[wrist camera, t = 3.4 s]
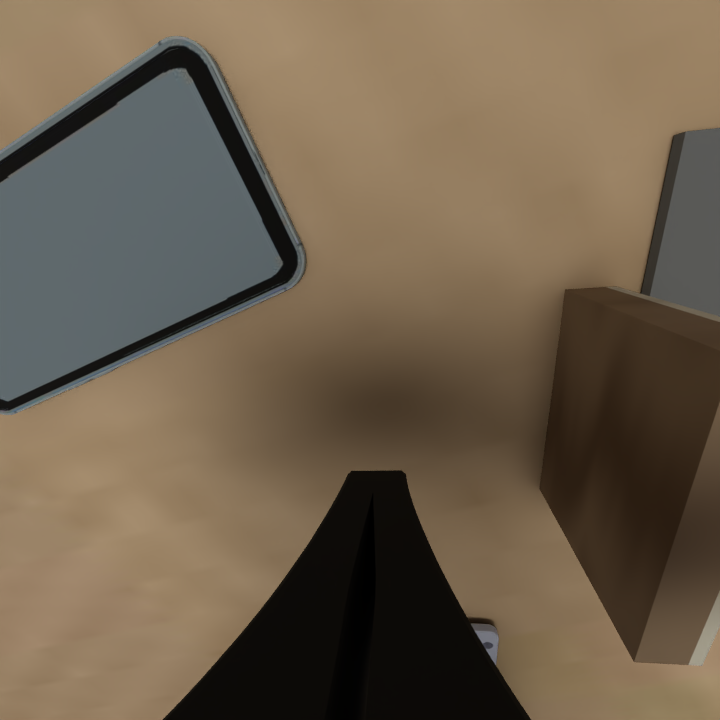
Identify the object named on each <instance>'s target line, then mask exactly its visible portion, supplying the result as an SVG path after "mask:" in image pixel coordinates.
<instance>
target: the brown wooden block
mask: <svg viewBox="0 0 720 720" xmlns="http://www.w3.org/2000/svg"><path fill="white" fill-rule="evenodd" d="M540 490H541V492H542V494H543V496H544V498H545V500H546V501H547V503H548V505H549V507H550V509H551V511H552V512H553V514H554V516H555V518H556V520H557V522H558V523H559V525H560V527H561V529H562V531H563V533H564V534H565V536H566V538H567V540H568V542H569V544H570V545H571V547H572V549H573V551H574V553H575V555H576V556H577V558H578V560H579V562H580V564H581V566H582V567H583V569H584V571H585V573H586V575H587V577H588V578H589V580H590V582H591V584H592V586H593V588H594V589H595V591H596V593H597V595H598V597H599V599H600V600H601V602H602V604H603V606H604V608H605V610H606V612H607V613H608V615H609V617H610V619H611V621H612V623H613V624H614V626H615V628H616V630H617V632H618V634H619V635H620V637H621V639H622V641H623V643H624V645H625V646H626V648H627V650H628V652H629V654H630V656H631V657H632V659H633V661H634V662H641V663H660V664H679V665H699V666H702V665H703V663H704V660H705V658H706V656H707V654H708V651H709V649H710V647H711V645H712V642H713V640H714V638H715V636H716V634H717V631H718V629H719V627H720V317H719V316H716V315H713V314H709V313H706V312H702V311H699V310H695V309H692V308H688V307H685V306H682V305H678V304H675V303H671V302H668V301H664V300H661V299H657V298H654V297H651V296H647V295H644V294H640V293H637V292H633V291H630V290H626V289H623V288H620V287H616V286H615V287H599V288H584V289H568V290H565V296H564V304H563V312H562V319H561V327H560V335H559V342H558V350H557V358H556V366H555V373H554V381H553V389H552V396H551V404H550V412H549V419H548V427H547V435H546V443H545V450H544V458H543V466H542V473H541V481H540Z"/></svg>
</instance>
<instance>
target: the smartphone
mask: <svg viewBox="0 0 720 720" xmlns="http://www.w3.org/2000/svg"><path fill="white" fill-rule="evenodd" d="M224 80H225V79H224V77H223V75H222V72H221V70H220V68H219V67H218V65H217V63H216V62H215V60H214V59H213V58H212V56H211V55H210V54H209V53H208V52H207V51H206V50H204V49H203V48H202V47H201V46H200V45H199V44H198V43H196V42H195V41H193V40H191V39H189V38H186V37H182V36H171V37H167V38H165V39H163V40H161V41H159V42H158V43H157V44H155V45H154V46H152V47H151V48H149V49H148V50H146V51H145V52H143V53H142V54H140V55H139V56H138V57H136V58H135V59H133V60H132V61H130V62H129V63H127V64H126V65H124V66H123V67H122V68H120V69H119V70H117V71H116V72H114V73H113V74H111V75H110V76H108V77H107V78H105V79H104V80H103V81H101V82H100V83H98V84H97V85H95V86H94V87H92V88H91V89H89V90H88V91H86V92H85V93H84V94H82V95H81V96H79V97H78V98H76V99H75V100H73V101H72V102H70V103H69V104H67V105H66V106H65V107H63V108H62V109H60V110H59V111H57V112H56V113H54V114H53V115H51V116H50V117H49V118H47V119H46V120H44V121H43V122H41V123H40V124H38V125H37V126H35V127H34V128H32V129H31V130H30V131H28V132H27V133H25V134H24V135H22V136H21V137H19V138H18V139H16V140H15V141H13V142H12V143H11V144H9V145H8V146H6V147H5V148H3V149H2V150H0V414H3V415H12V414H16V413H18V412H20V411H22V410H25V409H27V408H29V407H31V406H33V405H36V404H38V403H40V402H42V401H44V400H47V399H49V398H51V397H54V396H56V395H58V394H60V393H62V392H64V391H66V390H71V389H73V388H75V387H78V386H80V385H82V384H84V383H86V382H88V381H90V380H91V379H95V378H97V377H100V376H102V375H104V374H106V373H108V372H111V371H113V370H114V369H115V368H117V367H119V366H121V365H124V364H126V363H128V362H130V361H132V360H135V359H137V358H139V357H141V356H143V355H146V354H148V353H150V352H152V351H154V350H157V349H159V348H161V347H163V346H165V345H168V344H170V343H172V342H174V341H176V340H179V339H181V338H183V337H185V336H187V335H190V334H192V333H194V332H196V331H198V330H201V329H203V328H205V327H207V326H209V325H212V324H214V323H216V322H218V321H220V320H223V319H225V318H227V317H229V316H231V315H234V314H236V313H238V312H240V311H242V310H245V309H247V308H249V307H251V306H253V305H256V304H258V303H260V302H262V301H264V300H267V299H269V298H271V297H273V296H275V295H278V294H280V293H282V292H284V291H286V290H288V289H290V288H292V287H293V286H295V285H296V284H297V283H298V282H299V281H300V279H301V278H302V276H303V274H304V271H305V268H306V254H305V250H304V247H303V245H302V243H301V240H300V238H299V236H298V234H297V232H296V230H295V228H294V226H293V224H292V222H291V219H290V218H289V216H288V213H287V211H286V209H285V206H284V204H283V203H282V201H281V198H280V196H279V194H278V192H277V190H276V187H275V185H274V184H273V181H272V179H271V177H270V175H269V173H268V171H267V169H266V167H265V165H264V163H263V161H262V159H261V157H260V154H259V151H258V149H257V147H256V145H255V143H254V140H253V138H252V136H251V134H250V132H249V130H248V128H247V126H246V125H245V123H244V119H243V117H242V116H241V114H240V111H239V109H238V108H237V106H236V105H237V104H236V102H235V101H234V99H233V98H232V97H233V96H232V94H231V92H230V91H229V87H228V85H227V84H226V83H225V81H224ZM286 287H287V288H286Z"/></svg>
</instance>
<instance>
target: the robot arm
mask: <svg viewBox="0 0 720 720" xmlns="http://www.w3.org/2000/svg"><path fill="white" fill-rule="evenodd" d="M498 641H499V637H498V633H497V629H496V628H495V627H494V626H492V625H490V624H477V623H470V622H469V620H468V618H467V617H466V615H465V613H464V611H463V609H462V608H461V606H460V604H459V602H458V600H457V599H456V597H455V595H454V593H453V591H452V589H451V587H450V585H449V583H448V581H447V579H446V578H445V576H444V574H443V572H442V570H441V568H440V566H439V564H438V562H437V560H436V557H435V555H434V553H433V551H432V549H431V547H430V544H429V542H428V540H427V538H426V535H425V533H424V531H423V528H422V526H421V524H420V521H419V519H418V516H417V513H416V511H415V508H414V505H413V502H412V499H411V496H410V492H409V489H408V484H407V479H406V474H405V473H404V472H402V471H351V472H350V473H349V474H348V475H347V477H346V480H345V482H344V484H343V486H342V488H341V490H340V491H339V493H338V495H337V497H336V499H335V501H334V502H333V504H332V506H331V508H330V509H329V511H328V513H327V515H326V516H325V518H324V520H323V521H322V523H321V524H320V526H319V528H318V529H317V531H316V532H315V534H314V536H313V537H312V539H311V540H310V542H309V543H308V545H307V547H306V548H305V549H304V551H303V552H302V554H301V555H300V557H299V558H298V560H297V561H296V562H295V564H294V565H293V567H292V568H291V570H290V571H289V572H288V574H287V575H286V577H285V578H284V580H283V581H282V582H281V584H280V585H279V586H278V588H277V589H276V590H275V592H274V593H273V594H272V596H271V597H270V598H269V599H268V601H267V602H266V603H265V605H264V606H263V607H262V608H261V610H260V611H259V612H258V613H257V615H256V616H255V617H254V618H253V620H252V621H251V622H250V623H249V624H248V626H247V627H246V628H245V629H244V631H243V632H242V633H241V634H240V635H239V637H238V638H237V639H236V640H235V641H234V642H233V643H232V645H231V646H230V647H229V648H228V649H227V650H226V651H225V653H224V654H223V655H222V656H221V657H220V658H219V659H218V661H217V662H216V663H215V664H214V665H213V666H212V668H211V669H210V670H209V671H208V672H207V673H206V674H205V675H204V676H203V678H202V679H201V680H200V681H199V682H198V683H197V684H196V685H195V686H194V687H193V689H192V690H191V691H190V692H189V693H188V694H187V695H186V696H185V697H184V698H183V699H182V700H181V701H180V702H179V703H178V704H177V705H176V707H175V708H174V709H173V710H172V711H171V712H170V713H169V714H168V715H167V716H166V717H165V718H164V719H163V720H531V719H530V717H529V716H528V714H527V713H526V711H525V710H524V708H523V707H522V706H521V704H520V703H519V701H518V700H517V698H516V697H515V695H514V694H513V692H512V691H511V689H510V687H509V686H508V684H507V683H506V681H505V680H504V678H503V676H502V675H501V673H500V672H499V670H498V668H497V667H496V662H497V651H498Z"/></svg>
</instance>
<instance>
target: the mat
mask: <svg viewBox="0 0 720 720" xmlns="http://www.w3.org/2000/svg"><path fill="white" fill-rule="evenodd" d="M641 294H644V295H647V296H651V297H654V298H657V299H661V300H664V301H668V302H671V303H675V304H678V305H682V306H685V307H688V308H692V309H695V310H699V311H702V312H706V313H709V314H713V315H716V316H719V317H720V128H715V129H706V130H697V131H688V132H683V133H680V134H677V135H674V139H673V144H672V148H671V153H670V158H669V163H668V167H667V172H666V177H665V182H664V187H663V191H662V196H661V201H660V206H659V210H658V215H657V220H656V225H655V230H654V234H653V239H652V244H651V249H650V253H649V258H648V263H647V268H646V273H645V277H644V282H643V287H642V292H641Z"/></svg>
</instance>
